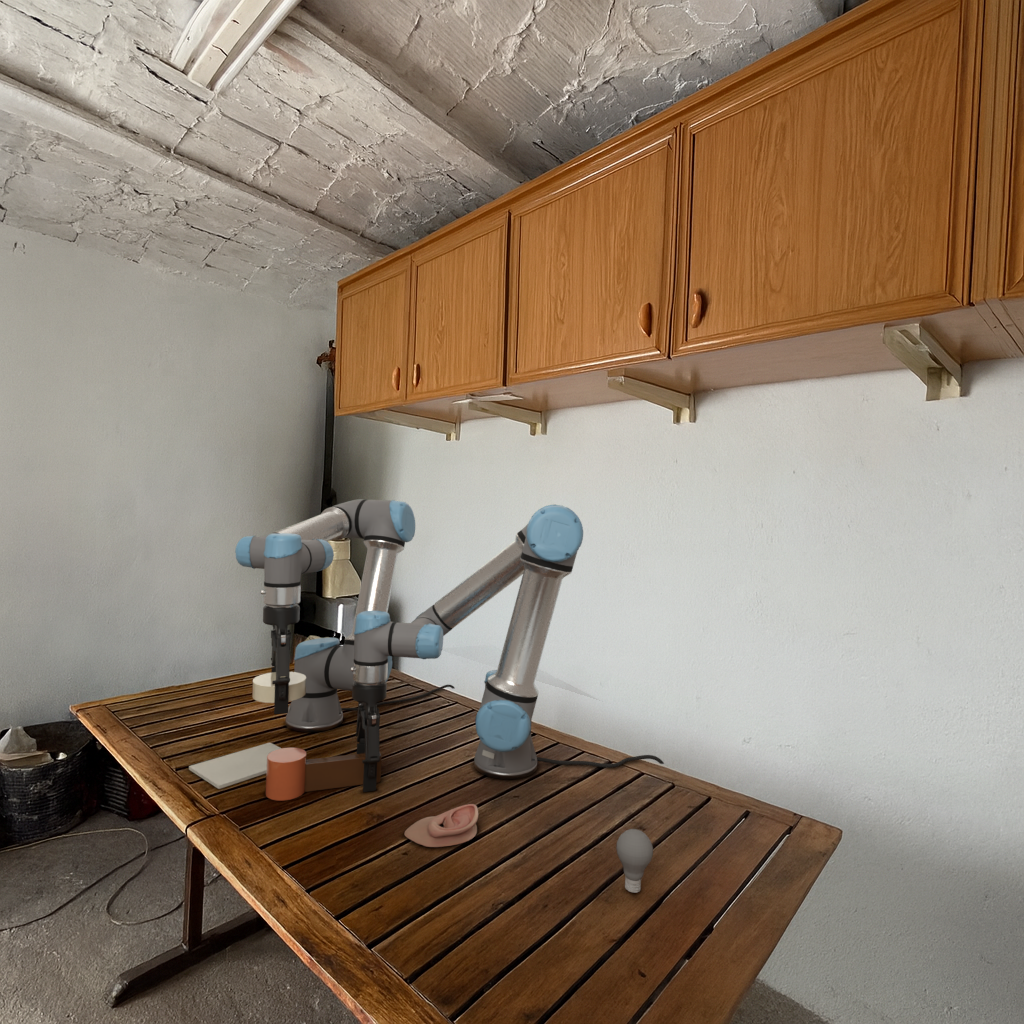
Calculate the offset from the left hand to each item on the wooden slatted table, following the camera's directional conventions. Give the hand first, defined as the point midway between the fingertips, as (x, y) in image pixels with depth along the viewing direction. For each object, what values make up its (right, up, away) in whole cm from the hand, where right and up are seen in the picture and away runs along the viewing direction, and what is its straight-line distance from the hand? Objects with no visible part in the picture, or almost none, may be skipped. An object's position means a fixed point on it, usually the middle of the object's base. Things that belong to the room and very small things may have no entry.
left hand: (279, 704), depth 139 cm
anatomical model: (+38, -20, -17) cm, 46 cm away
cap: (0, +2, 0) cm, 2 cm away
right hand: (+18, -18, +3) cm, 26 cm away
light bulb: (+71, -21, -33) cm, 81 cm away
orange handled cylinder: (+10, -18, 0) cm, 21 cm away
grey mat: (-11, -17, +9) cm, 22 cm away
